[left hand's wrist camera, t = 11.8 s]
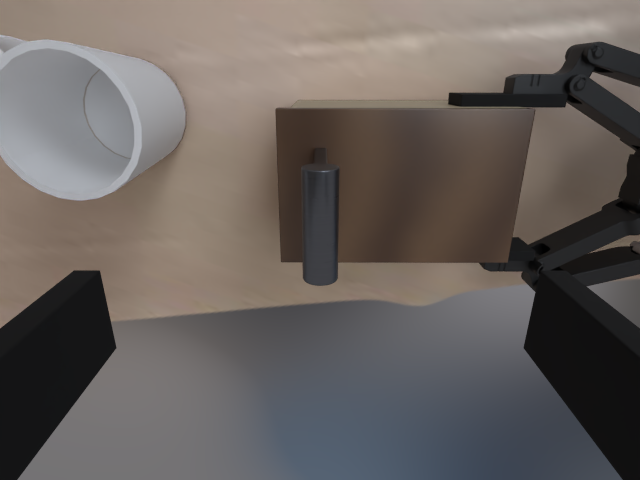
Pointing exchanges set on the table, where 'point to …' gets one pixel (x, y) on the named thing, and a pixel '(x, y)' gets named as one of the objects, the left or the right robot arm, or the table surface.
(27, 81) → the mug
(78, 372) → the left robot arm
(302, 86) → the table surface
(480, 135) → the lid
